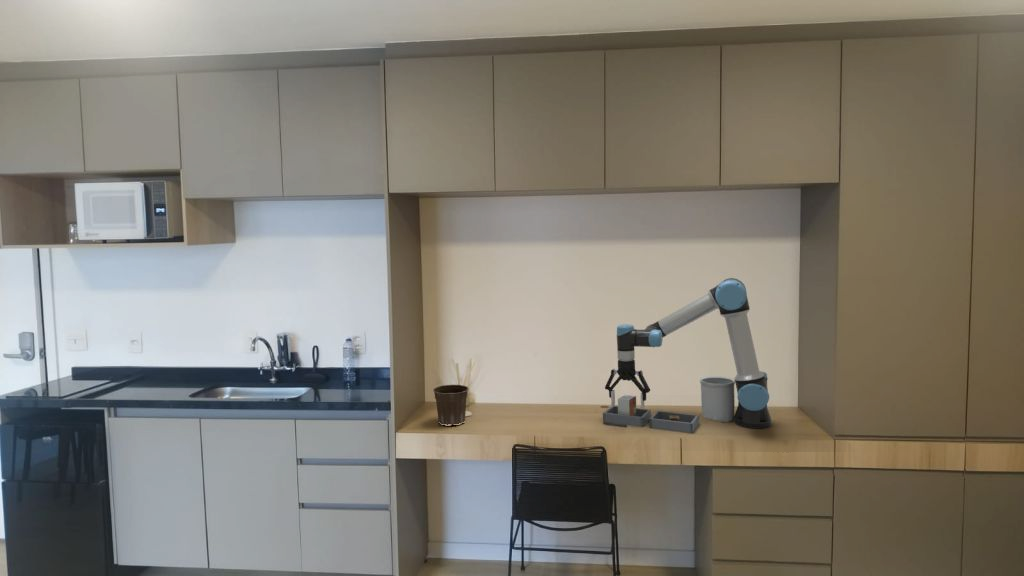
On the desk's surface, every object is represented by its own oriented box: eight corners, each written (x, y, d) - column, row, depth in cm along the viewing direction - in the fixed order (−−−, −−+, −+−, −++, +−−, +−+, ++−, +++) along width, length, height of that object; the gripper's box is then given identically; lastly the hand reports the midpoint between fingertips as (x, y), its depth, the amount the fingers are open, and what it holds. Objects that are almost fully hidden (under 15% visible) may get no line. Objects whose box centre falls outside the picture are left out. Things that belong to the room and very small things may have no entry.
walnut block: (679, 424, 253) (679, 415, 253) (679, 427, 249) (679, 418, 249) (669, 424, 254) (669, 415, 254) (669, 427, 250) (669, 418, 250)
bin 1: (651, 420, 263) (650, 409, 263) (642, 429, 252) (642, 417, 251) (612, 415, 272) (612, 405, 271) (603, 424, 261) (602, 413, 260)
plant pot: (476, 419, 273) (474, 385, 272) (458, 430, 259) (457, 394, 258) (446, 416, 280) (444, 383, 279) (427, 426, 266) (426, 391, 264)
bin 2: (699, 426, 253) (698, 415, 252) (692, 435, 242) (692, 423, 241) (657, 421, 262) (657, 410, 261) (649, 430, 250) (649, 418, 250)
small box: (629, 423, 257) (629, 400, 256) (617, 421, 260) (617, 398, 259) (636, 418, 263) (636, 395, 262) (625, 416, 267) (624, 394, 266)
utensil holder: (700, 421, 259) (700, 383, 258) (700, 412, 273) (699, 375, 272) (736, 423, 255) (736, 384, 253) (733, 413, 269) (733, 376, 267)
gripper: (656, 359, 257) (657, 406, 258) (602, 356, 269) (604, 401, 270) (651, 362, 250) (653, 411, 252) (596, 359, 262) (598, 405, 264)
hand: (627, 406), depth 261 cm, fingers open, 13 cm apart
